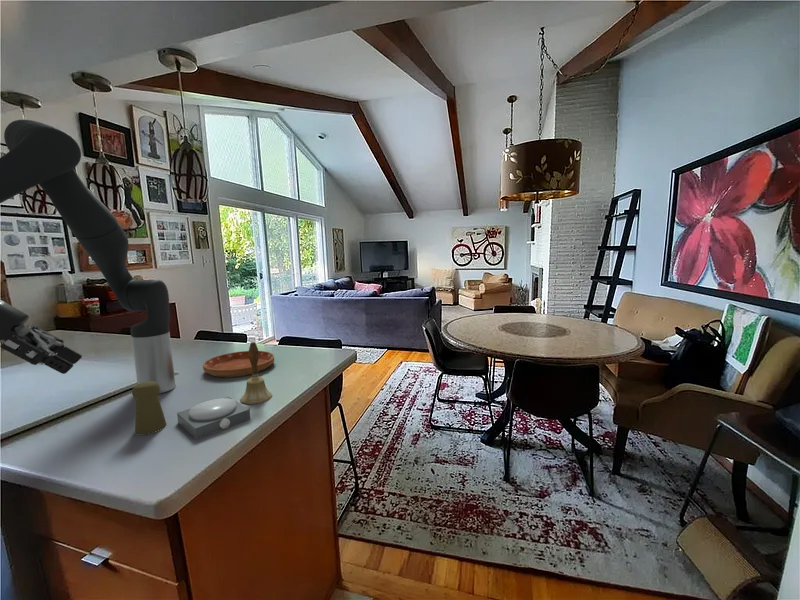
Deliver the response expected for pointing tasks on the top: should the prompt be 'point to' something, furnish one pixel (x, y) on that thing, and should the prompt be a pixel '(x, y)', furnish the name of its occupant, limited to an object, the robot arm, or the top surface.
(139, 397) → the cork
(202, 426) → the scale
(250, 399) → the hand bell
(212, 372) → the saucer
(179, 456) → the top surface
